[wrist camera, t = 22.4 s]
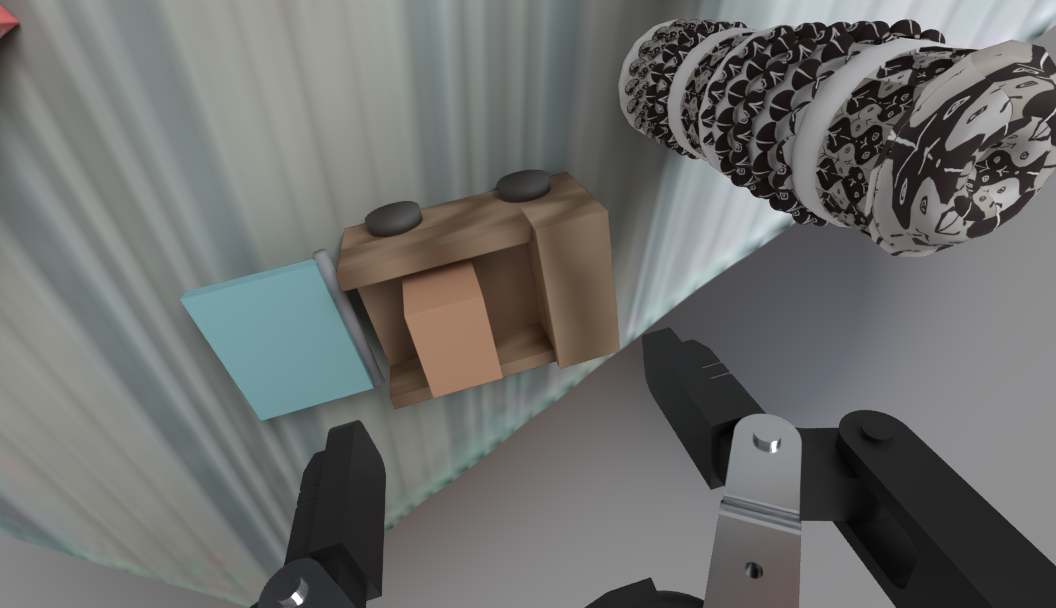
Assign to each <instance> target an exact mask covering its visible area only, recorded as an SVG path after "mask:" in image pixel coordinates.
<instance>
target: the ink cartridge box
mask: <svg viewBox="0 0 1056 608" xmlns="http://www.w3.org/2000/svg"><path fill="white" fill-rule="evenodd" d="M17 24H19V22H18V20H17V19H15V18H14V17H13V16H12V15H11V14H10V13H9V12H8V11H7V10H6V9H5V8H4V7H2V6H1V5H0V38H2V37H3V36H4V35H5V34H6V33H7V32H8V31H10V30H11V29H12V28H13V27H14V26H15V25H17Z"/></svg>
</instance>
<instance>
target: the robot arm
mask: <svg viewBox="0 0 1056 608" xmlns="http://www.w3.org/2000/svg"><path fill="white" fill-rule="evenodd" d="M642 345H643V356H644V367H645V376H646V381H647V384H648V387H649V389H650V392H651V394H652V396H653V397H654V399H655V401H656V402H657V404H658V406H659V407H660V409H661V410H662V412H663V414H664V415H665V417H666V418H667V420H668V421H669V423H670V425H671V426H672V428H673V430H674V431H675V433H676V434H677V436H678V438H679V439H680V441H681V442H682V444H683V446H684V447H685V449H686V451H687V452H688V454H689V455H690V457H691V459H692V460H693V462H694V463H695V465H696V467H697V468H698V470H699V471H700V473H701V475H702V476H703V478H704V480H705V481H706V483H707V484H708V486H709V487H710V489H711V490H712V489H715V488H718V487H721V486H725V490H724V496H723V500H721V503H720V508H719V514H718V520H717V526H716V532H715V539H714V544H713V550H712V556H711V562H710V568H709V574H708V580H707V586H706V593H705V599H704V600H702V599H699V598H697V597H694V596H691V595H689V594H684V593H680V592H674V591H657V590H656V588H655V586H654V583H653V581H652V579H651V578H648V579H645V580H642V581H639V582H636V583H633V584H630V585H627V586H624V587H621V588H618V589H615V590H612V591H609V592H607V593H605V594H604V595H603V596H601V597H600V598H598V599H597V600H595V601H594V602H592V603H591V604H589V605H588V606H586V607H585V608H799V594H800V561H801V521H833V523H834V524H835V525H836V527H837V528H838V529H839V531H840V532H841V533H842V535H843V536H844V537H845V539H846V540H847V542H848V543H849V544H850V546H851V547H852V548H853V550H854V551H855V552H856V554H857V555H858V556H859V558H860V559H861V561H862V562H863V563H864V565H865V566H866V567H867V569H868V570H869V572H870V573H871V574H872V575H873V577H874V578H875V580H876V581H877V582H878V584H879V585H880V586H881V588H882V589H883V591H884V592H885V593H886V595H887V596H888V597H889V599H890V600H891V601H892V603H893V604H894V605H895V607H896V608H1056V566H1055V565H1054V564H1053V563H1052V562H1051V561H1050V560H1049V559H1048V558H1046V556H1045V555H1043V554H1042V553H1041V552H1040V551H1039V550H1038V549H1037V548H1036V547H1035V546H1034V545H1033V544H1032V543H1031V542H1030V541H1029V540H1027V539H1026V538H1025V537H1024V536H1023V535H1022V534H1021V533H1020V532H1019V531H1018V530H1017V529H1016V528H1015V527H1014V526H1013V525H1011V524H1010V523H1009V522H1008V521H1007V520H1006V519H1005V518H1004V517H1003V516H1002V515H1001V514H1000V513H999V512H998V511H997V510H996V509H994V508H993V507H992V506H991V505H990V504H989V503H988V502H987V501H986V500H985V499H984V498H983V497H982V496H981V495H979V494H978V493H977V492H976V491H975V490H974V489H973V488H972V487H971V486H970V485H969V484H968V483H967V482H966V481H965V480H964V479H963V478H962V477H960V476H959V475H958V474H957V473H956V472H955V471H954V470H953V469H952V468H951V467H950V466H949V465H948V464H947V463H946V462H944V461H943V460H942V459H941V458H940V457H939V456H938V455H937V454H936V453H935V452H934V451H933V450H932V449H931V448H929V447H928V446H927V445H926V444H925V443H924V442H923V441H922V440H921V439H920V438H919V437H918V436H917V435H916V434H915V433H914V432H912V430H910V429H909V428H908V427H907V426H906V425H905V424H904V423H902V422H901V421H899V420H898V419H896V418H894V417H892V416H890V415H887V414H885V413H881V412H877V411H871V410H859V411H854V412H851V413H849V414H847V415H845V416H844V417H843V418H842V419H841V421H840V424H839V428H808V429H807V428H796V427H794V426H793V425H791V424H790V423H789V422H787V421H786V420H784V419H782V418H780V417H777V416H773V415H769V414H766V413H765V412H764V411H763V410H762V408H761V407H760V406H759V405H758V404H757V403H756V401H755V400H754V399H753V398H752V397H751V396H750V395H749V393H747V391H746V390H745V389H744V388H743V386H742V385H741V384H740V383H739V382H738V381H737V380H736V378H735V377H734V376H733V375H732V374H730V373H729V370H728V369H727V368H726V367H725V366H724V365H723V364H721V362H720V360H719V359H718V358H717V356H716V355H715V354H714V353H713V352H712V351H711V350H710V348H708V347H706V346H704V345H702V344H701V343H699V342H697V341H695V340H693V339H692V340H688V341H685V342H681V340H680V339H679V338H678V337H677V335H676V334H675V333H674V332H673V331H672V329H671V328H669V327H667V328H664V329H661V330H657V331H654V332H651V333H648V334H645V335H643V336H642ZM385 489H386V473H385V467H384V463H383V460H382V457H381V455H380V453H379V452H378V450H377V448H376V446H375V445H374V443H373V441H372V439H371V437H370V436H369V434H368V432H367V430H366V429H365V427H364V425H363V424H362V422H361V421H359V420H356V421H353V422H350V423H347V424H343V425H340V426H337V427H333V428H331V429H330V430H329V432H328V437H327V443H326V449H325V451H321V452H318V453H315V454H314V456H313V457H312V459H311V460H310V462H309V464H308V465H307V467H306V469H305V470H304V473H303V477H302V482H301V487H300V491H301V493H299V496H298V501H297V506H298V507H297V508H296V511H295V516H294V520H293V525H292V530H291V535H290V539H289V544H288V549H287V554H286V559H285V563H284V566H283V567H282V568H280V569H279V570H278V571H277V572H276V573H275V574H274V575H273V576H272V577H271V578H270V579H269V581H268V582H267V583H266V585H265V587H264V588H263V590H262V592H261V595H260V597H259V601H258V602H257V603H255V604H254V605H253V606H251V607H250V608H366V601H368V600H371V599H374V598H377V597H380V596H382V572H383V543H384V517H385Z"/></svg>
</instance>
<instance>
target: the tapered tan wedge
mask: <svg viewBox="0 0 1056 608" xmlns="http://www.w3.org/2000/svg"><path fill="white" fill-rule="evenodd" d="M402 283H403V300H404V317H405V319H406V322H407V325H408V328H409V331H410V333H411V336H412V339H413V342H414V344H415V347H416V350H417V353H418V356H419V358H420V361H421V364H422V367H423V369H424V372H425V375H426V378H427V381H428V383H429V386H430V389H431V392H432V394H433V397H434V398H436V397H439V396H443V395H446V394H450V393H453V392H457V391H460V390H463V389H467V388H470V387H474V386H477V385H481V384H484V383H488V382H491V381H495V380H498V379H502V378H503V376H502V372H501V368H500V364H499V360H498V356H497V352H496V348H495V344H494V340H493V336H492V332H491V328H490V324H489V320H488V316H487V311H486V307H485V303H484V299H483V295H482V292H481V289H480V286H479V283H478V280H477V277H476V274H475V271H474V268H473V265H472V262H471V259H470V258H467V259H463V260H459V261H455V262H452V263H448V264H444V265H441V266H437V267H433V268H429V269H426V270H422V271H418V272H414V273H411V274H407V275H403V276H402Z"/></svg>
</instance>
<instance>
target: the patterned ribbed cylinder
mask: <svg viewBox="0 0 1056 608" xmlns="http://www.w3.org/2000/svg"><path fill="white" fill-rule="evenodd" d="M899 37H902V38H909V39H900V38H899ZM915 39H916V40H915ZM618 91H619V99H620V108H621V110H622V112H623V113H624V115H625V117H626V119H627V120H628V122H629V124H630V126H632V127H633V128H635V129H636V130H638V131H639V132H641V133H642V134H644V135H645V136H646V137H647V138H649V139H653V138H654V140H655V142H656V143H658V144H662V143H664V142H665V145H666V146H667V147H668V148H669V149H672V150H674V149H675V150H676V151H677V152H678V153H679V154H680V155H688V157H689V158H691V159H699V158H700V159H702V160H704V161H708V162H709V164H710V165H711V166H712V167H714V168H715V169H717V170H718V171H719V172H721V173H722V174H724V175H725V176H727V177H728V178H730V179H731V181H732V183H733V184H734V185H736V186H738V187H747V188H748V189H749V190H750V192H751V193H752V195H753V196H755V197H757V198H763V199H769V203H770V206H771V207H772V208H773V209H774V210H777V211H783V212H786V213H790V214H792V216H793V219H794V220H795V221H796V222H797V223H799V224H803V225H805V224H808V223H810V222H812V223H813V224H815V225H817V226H825V225H828V224H830V223H833V224H835V225H837V226H839V227H852V228H855V229H857V231H858V232H860V233H863V234H865V235H867V236H869V237H871V238H872V240H873V241H874V242H876V243H877V244H878V245H879V246H881V247H882V248H883V249H885V250H886V251H887V252H889V253H890V254H891V255H893V256H909V257H922V256H925V255H928V254H931V253H933V252H937V251H940V250H942V249H945V248H948V247H951V246H953V245H955V244H960V243H963V242H966V241H969V240H971V239H974V238H977V237H980V236H983V235H986V234H988V233H990V232H992V231H993V230H994V229H996V228H998V227H999V226H1000V225H1002V224H1003V223H1005V222H1006V221H1008V220H1009V219H1011V218H1012V217H1014V216H1015V215H1017V213H1018V212H1020V211H1021V210H1022V209H1023V207H1024V206H1025V205H1026V204H1027V203H1028V202H1029V201H1030V200H1031V199H1032V198H1033V197H1034V196H1035V195H1036V194H1037V193H1038V192H1039V191H1040V190H1041V188H1042V187H1043V185H1044V184H1045V182H1046V181H1047V179H1048V178H1049V176H1050V175H1051V173H1052V172H1053V170H1054V169H1055V167H1056V66H1055V64H1054V63H1053V61H1052V60H1051V58H1050V57H1049V55H1048V53H1047V52H1046V50H1045V49H1044V47H1041V46H1036V45H1033V44H1028V43H1024V42H1020V41H1016V40H1009V41H1006V42H1003V43H1000V44H997V45H994V46H991V47H988V48H984V49H981V50H974V49H961V48H957V47H956V46H951V45H947V44H945V38H944V36H943V35H942V33H940V32H939V31H937V30H933V29H929V30H926V31H923V32H922V33H921V28H920V26H919V24H918V23H917V22H915V21H913V20H907V19H906V20H901V21H898V22H896V23H895V24H893V25H892V26H891V27H890V28H889V26H888V24H887V23H885V22H882V21H874V22H867V21H859V22H856V23H854V24H852V25H850V24H849V23H846V22H837V23H834V24H832V25H830V26H828V27H826V26H825V25H824V24H823V23H820V22H815V23H804V24H801V25H799V26H798V27H793V26H788V25H779V26H775V27H772V28H769V29H766V30H762V31H758V30H754V29H748V28H747V27H746V25H745V24H743V23H741V22H735V23H732V24H730V23H728V22H717V23H716V22H715V21H712V20H704V21H701V20H689V21H687V20H683V19H681V20H678V19H674V20H671V21H668V22H664V23H661V24H658V25H654V26H653V27H652V28H651V29H650V30H648V31H647V32H646V33H645V34H644V35H642V36H641V37H640V38H639V39H638V40H636V42H635V43H634V45H633V47H632V48H631V50H630V52H629V53H628V55H627V57H626V58H625V60H624V62H623V65H622V70H621V74H620V79H619V83H618ZM797 199H798V200H799V201H798V200H797ZM807 209H808V210H810V211H811V212H807V211H806V210H807Z"/></svg>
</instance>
